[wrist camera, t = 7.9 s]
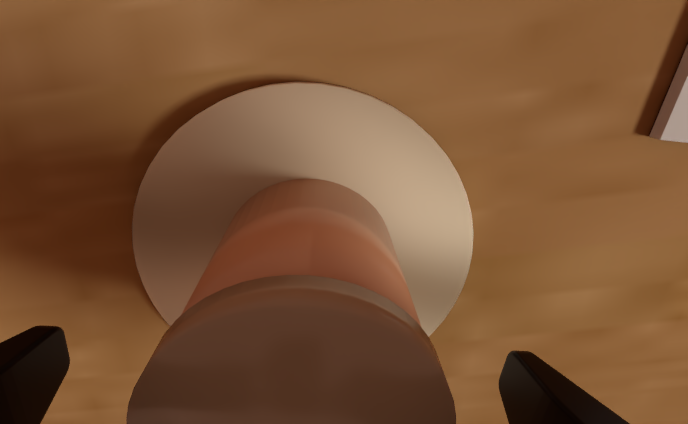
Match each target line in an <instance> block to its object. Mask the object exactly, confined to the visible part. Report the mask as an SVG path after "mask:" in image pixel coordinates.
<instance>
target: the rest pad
mask: <svg viewBox="0 0 688 424" xmlns="http://www.w3.org/2000/svg"><path fill="white" fill-rule="evenodd" d="M649 137H652V138H656V139H659V140H667V141H677V142H686V143H688V45H687V47H686V50H685V52H684V54H683V57H682V59H681V62H680V64H679V66H678V69H677V71H676V74H675V76H674V78H673V81H672V83H671V86H670V88H669V90H668V93H667V95H666V97H665V100H664V102H663V105H662V107H661V109H660V112H659V114H658V117H657V119H656V121H655V124H654V126H653V129H652V131H651V133H650V136H649Z"/></svg>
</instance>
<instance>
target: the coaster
mask: <svg viewBox="0 0 688 424" xmlns="http://www.w3.org/2000/svg"><path fill="white" fill-rule="evenodd" d="M294 179H320V180H327V181H331V182H334V183H338V184H340V185H343V186H345V187H347V188H350V189H351V190H353V191H355V192H357V193H358V194H360V195H361V196H362V197H364V198H365V199H366V200H368V201H369V202H370V203H371V204H372V205H373V206H374V207H375V209H376V210H377V211H378V213H379V214H380V215H381V217H382V218H383V220H384V222H385V224H386V226H387V228H388V231H389V234H390V237H391V240H392V243H393V246H394V248H395V251H396V254H397V257H398V260H399V263H400V266H401V269H402V272H403V275H404V278H405V280H406V283H407V286H408V289H409V292H410V295H411V298H412V301H413V304H414V307H415V310H416V312H417V315H418V318H419V321H420V324H421V327H422V329H423V330H424V331H425V333H426V334H427V335H428V337H429V336H430V335H431V334H432V333H433V332H434V331H435V329H436V328H437V327H438V326H439V325H440V324H441V323H442V322H443V320H444V319H445V318H446V316H447V315H448V313H449V312H450V310H451V309H452V307H453V306H454V304H455V302H456V300H457V298H458V296H459V294H460V293H461V291H462V289H463V286H464V283H465V280H466V277H467V274H468V271H469V267H470V262H471V257H472V250H473V224H472V214H471V210H470V206H469V202H468V198H467V194H466V191H465V189H464V187H463V184H462V182H461V179H460V177H459V175H458V173H457V171H456V170H455V168H454V166H453V165H452V163H451V161H450V160H449V158H448V156H447V155H446V154H445V152H444V151H443V150H442V149H441V148H440V146H439V145H438V144H437V143H436V142H435V140H434V139H433V138H432V137H431V136H430V135H429V134H428V133H426V132H425V131H424V130H423V129H422V128H421V127H420V126H419V125H418V124H416V123H415V122H414V121H413V120H412V119H411V118H409V117H408V116H406V115H405V114H403V113H402V112H400V111H399V110H397V109H396V108H394V107H393V106H392V105H390V104H388V103H386V102H384V101H382V100H379V99H377V98H375V97H373V96H371V95H369V94H366V93H363V92H360V91H357V90H354V89H351V88H348V87H344V86H338V85H332V84H327V83H321V82H286V83H276V84H269V85H265V86H260V87H256V88H252V89H248V90H245V91H243V92H240V93H238V94H235V95H232V96H230V97H227V98H225V99H223V100H221V101H219V102H217V103H216V104H214V105H212V106H211V107H209V108H207V109H205V110H204V111H202V112H200V113H198V114H197V115H195V116H194V117H193V118H192V119H190V120H189V121H188V122H187V123H185V124H184V125H183V126H182V127H180V128H179V129H178V130H177V131H176V132H175V133H174V134H173V135H172V136H171V137H170V139H169V140H168V141H167V142H166V143H165V144H164V145H163V146H162V147H161V149H160V150H159V152H158V153H157V155H156V156H155V158H154V159H153V161H152V162H151V164H150V165H149V167H148V169H147V171H146V174H145V176H144V178H143V180H142V182H141V185H140V187H139V191H138V195H137V198H136V202H135V205H134V213H133V222H132V241H133V251H134V256H135V261H136V266H137V269H138V272H139V275H140V278H141V281H142V283H143V286H144V288H145V290H146V292H147V294H148V296H149V298H150V299H151V301H152V303H153V305H154V306H155V307H156V309H157V310H158V312H159V313H160V315H161V316H162V317H163V319H164V320H165V321H166V322H167V323H168V324H169V325H170V326H171V325H172V324H173V323H174V322H175V320H177V319H178V318H179V317H180V316H181V314H182V312H183V310H184V308H185V306H186V305H187V303H188V301H189V299H190V297H191V295H192V293H193V291H194V290H195V288H196V286H197V284H198V282H199V280H200V278H201V276H202V275H203V273H204V271H205V269H206V267H207V265H208V263H209V261H210V260H211V258H212V256H213V254H214V252H215V250H216V248H217V247H218V245H219V243H220V241H221V239H222V237H223V235H224V233H225V232H226V230H227V228H228V226H229V224H230V222H231V220H232V219H233V217H234V215H235V214H236V212H237V211H238V210H239V209H240V207H241V206H242V205H243V204H244V203H245V202H246V201H247V200H248V199H249V198H251V197H252V196H254V195H255V194H256V193H258V192H259V191H261V190H263V189H265V188H267V187H269V186H272V185H274V184H277V183H280V182H284V181H288V180H294Z"/></svg>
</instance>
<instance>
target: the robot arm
mask: <svg viewBox="0 0 688 424" xmlns="http://www.w3.org/2000/svg"><path fill="white" fill-rule="evenodd" d="M69 364H70V357H69V353H68V348H67V344H66V339H65V335H64V331H63V330H62V329H61V328H60V327H57V326H35V327H32V328H30V329H28V330H26V331H24V332H22V333H20V334H18V335H16V336H14V337H12V338H10V339H8V340H6V341H3V342H1V343H0V424H40V423H41V421H42V419H43V417H44V416H45V414H46V412H47V410H48V408H49V406H50V404H51V402H52V400H53V398H54V396H55V394H56V393H57V391H58V389H59V387H60V385H61V383H62V381H63V379H64V377H65V375H66V373H67V371H68V368H69ZM499 390H500V394H501V398H502V401H503V405H504V408H505V411H506V415H507V418H508V422H509V424H629V423H628V422H627V421H625V420H624V419H622V418H621V417H620V416H618V415H617V414H616V413H614V412H613V411H611V410H610V409H609V408H607V407H606V406H605V405H603V404H602V403H600V402H599V401H598V400H596V399H595V398H594V397H592V396H591V395H589V394H588V393H587V392H585V391H584V390H583V389H581V388H580V387H578V386H577V385H576V384H574V383H573V382H572V381H570V380H569V379H567V378H566V377H565V376H563V375H562V374H561V373H559V372H558V371H556V370H555V369H554V368H552V367H551V366H550V365H548V364H547V363H545V362H544V361H543V360H541V359H540V358H539V357H537V356H536V355H534V354H533V353H531V352H528V351H511V352H510V353H509V354H508V356H507V358H506V361H505V364H504V367H503V370H502V372H501V375H500V378H499Z"/></svg>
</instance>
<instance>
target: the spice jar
mask: <svg viewBox="0 0 688 424" xmlns="http://www.w3.org/2000/svg"><path fill="white" fill-rule="evenodd" d="M127 424H456V413H455V406H454V400H453V398H452V395H451V392H450V389H449V386H448V383H447V381H446V378H445V375H444V372H443V370H442V367H441V364H440V361H439V359H438V356H437V353H436V350H435V348H434V346H433V344H432V342H431V341H430V339H429V337H428V335H427V334H426V333H425V331H424V330H423V329H422V327H421V324H420V321H419V318H418V315H417V312H416V310H415V307H414V304H413V301H412V298H411V295H410V292H409V289H408V286H407V283H406V280H405V278H404V275H403V272H402V269H401V266H400V263H399V260H398V257H397V254H396V251H395V248H394V246H393V243H392V240H391V237H390V234H389V231H388V228H387V226H386V224H385V222H384V220H383V218H382V217H381V215H380V214H379V213H378V211H377V210H376V209H375V207H374V206H373V205H372V204H371V203H370V202H369V201H368V200H366V199H365V198H364V197H362V196H361V195H360V194H358V193H357V192H355V191H353V190H351V189H350V188H347V187H345V186H343V185H340V184H338V183H334V182H331V181H327V180H320V179H294V180H288V181H284V182H280V183H277V184H274V185H272V186H269V187H267V188H265V189H263V190H261V191H259V192H258V193H256V194H255V195H254V196H252V197H251V198H249V199H248V200H247V201H246V202H245V203H244V204H243V205H242V206H241V207H240V209H239V210H238V211H237V212H236V214H235V215H234V217H233V219H232V220H231V222H230V224H229V226H228V228H227V230H226V232H225V233H224V235H223V237H222V239H221V241H220V243H219V245H218V247H217V248H216V250H215V252H214V254H213V256H212V258H211V260H210V261H209V263H208V265H207V267H206V269H205V271H204V273H203V275H202V276H201V278H200V280H199V282H198V284H197V286H196V288H195V290H194V291H193V293H192V295H191V297H190V299H189V301H188V303H187V305H186V306H185V308H184V310H183V312H182V314H181V316H180V317H179V318H178V319H177V320H175V322H174V323H173V324H172V325H171V326H170V328H169V329H168V330H167V331H166V333H165V334H164V335H163V337H162V339H161V341H160V342H159V344H158V346H157V348H156V349H155V351H154V353H153V355H152V357H151V358H150V360H149V362H148V364H147V366H146V367H145V369H144V371H143V373H142V374H141V376H140V378H139V380H138V382H137V383H136V385H135V387H134V390H133V392H132V395H131V398H130V401H129V405H128V412H127Z"/></svg>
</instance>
